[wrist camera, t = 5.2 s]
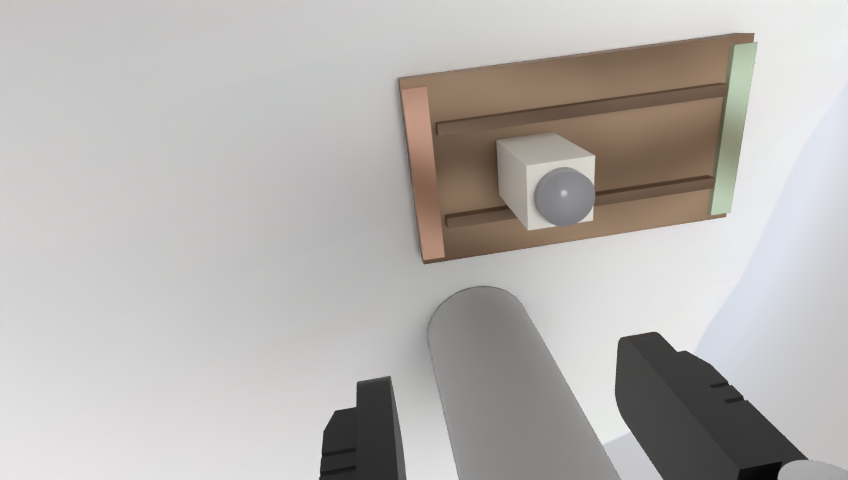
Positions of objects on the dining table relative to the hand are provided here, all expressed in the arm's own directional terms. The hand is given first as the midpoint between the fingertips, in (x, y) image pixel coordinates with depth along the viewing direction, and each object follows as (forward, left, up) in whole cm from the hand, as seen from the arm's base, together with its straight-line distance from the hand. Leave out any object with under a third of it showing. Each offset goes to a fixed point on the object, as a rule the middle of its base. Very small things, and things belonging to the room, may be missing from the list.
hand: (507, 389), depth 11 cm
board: (0, +8, -17) cm, 19 cm away
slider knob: (0, +6, -16) cm, 17 cm away
